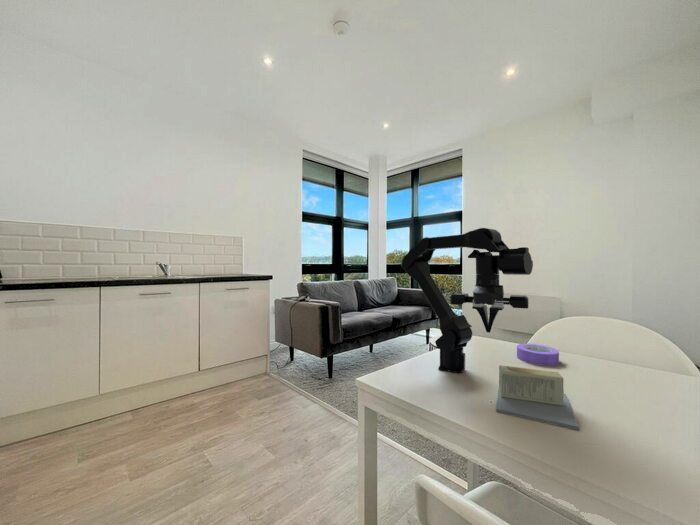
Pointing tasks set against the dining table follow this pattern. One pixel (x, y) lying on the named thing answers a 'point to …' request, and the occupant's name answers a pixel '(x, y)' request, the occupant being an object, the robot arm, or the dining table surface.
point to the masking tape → (538, 354)
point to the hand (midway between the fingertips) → (488, 332)
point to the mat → (539, 411)
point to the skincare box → (531, 385)
